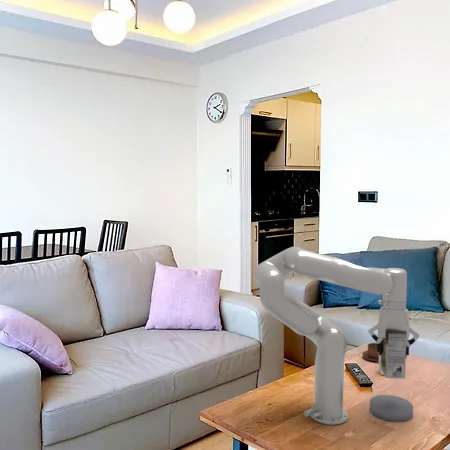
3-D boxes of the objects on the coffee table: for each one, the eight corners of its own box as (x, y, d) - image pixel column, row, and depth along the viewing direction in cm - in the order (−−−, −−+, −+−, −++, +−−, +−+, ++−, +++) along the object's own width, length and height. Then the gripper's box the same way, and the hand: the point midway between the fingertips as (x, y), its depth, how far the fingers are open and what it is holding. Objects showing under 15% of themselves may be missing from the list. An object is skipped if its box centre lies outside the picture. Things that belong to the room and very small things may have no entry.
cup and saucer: (371, 352, 229) (372, 339, 228) (395, 359, 219) (395, 346, 219) (356, 358, 221) (357, 345, 220) (380, 366, 212) (380, 352, 211)
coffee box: (379, 368, 172) (380, 323, 171) (398, 368, 172) (399, 323, 170) (385, 378, 163) (386, 331, 162) (405, 378, 163) (407, 331, 161)
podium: (395, 426, 159) (395, 417, 159) (361, 409, 171) (361, 401, 170) (421, 414, 167) (421, 406, 167) (387, 399, 179) (387, 391, 178)
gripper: (366, 305, 165) (365, 356, 167) (422, 309, 159) (420, 362, 161) (368, 300, 172) (367, 349, 174) (421, 304, 166) (420, 355, 168)
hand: (392, 355), depth 167 cm, fingers closed on coffee box, 7 cm apart
